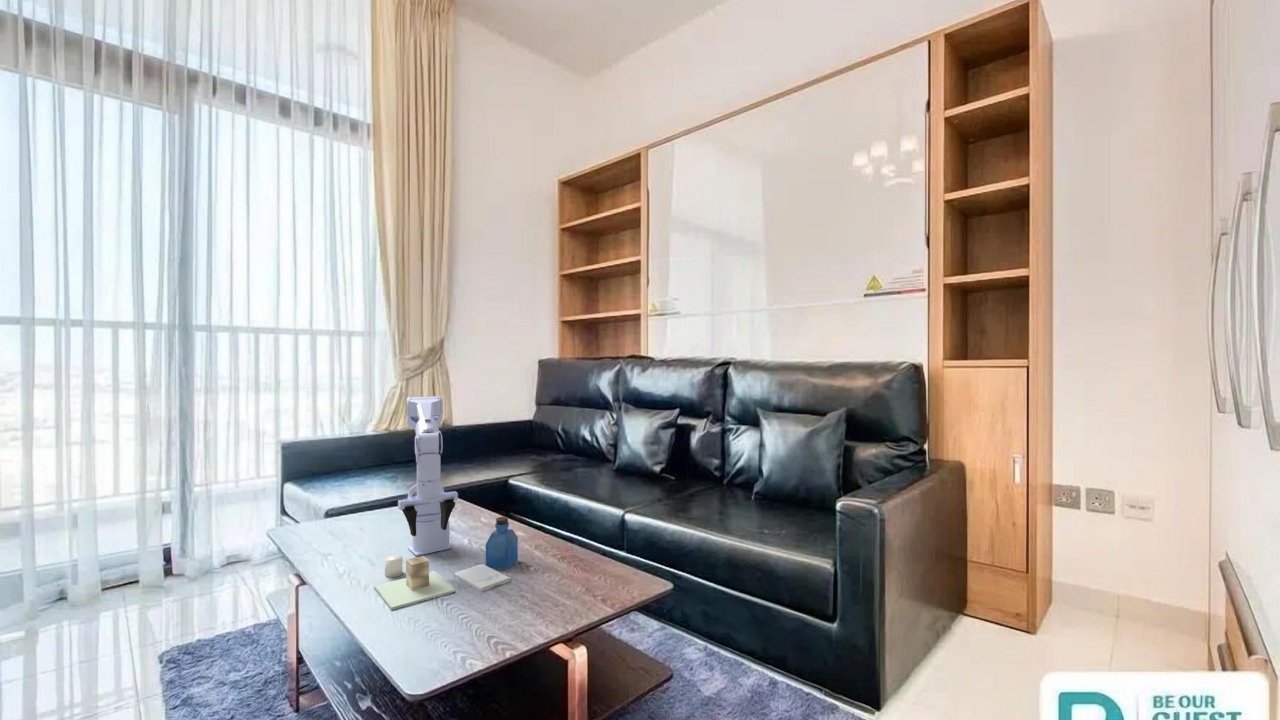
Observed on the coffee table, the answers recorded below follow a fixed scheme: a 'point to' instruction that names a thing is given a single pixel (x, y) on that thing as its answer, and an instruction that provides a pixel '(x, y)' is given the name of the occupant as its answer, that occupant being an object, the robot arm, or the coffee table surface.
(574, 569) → the coffee table surface
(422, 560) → the birch block
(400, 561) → the ceramic cylinder
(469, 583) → the external hard drive
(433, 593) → the sage mat
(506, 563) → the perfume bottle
